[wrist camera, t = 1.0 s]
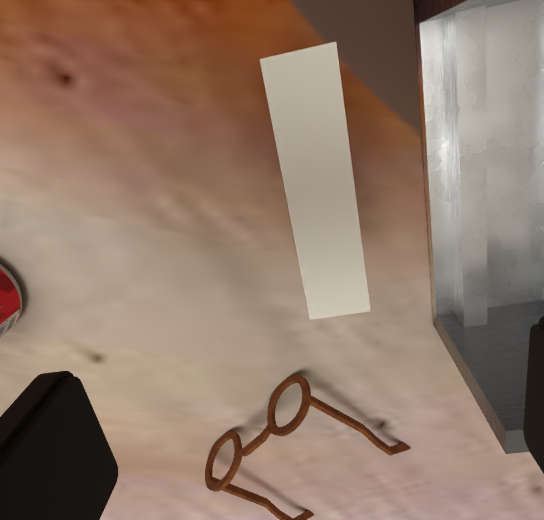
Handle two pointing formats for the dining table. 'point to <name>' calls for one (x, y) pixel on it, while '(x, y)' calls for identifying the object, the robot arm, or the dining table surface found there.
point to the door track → (485, 191)
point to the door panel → (318, 177)
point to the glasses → (272, 428)
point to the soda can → (9, 300)
